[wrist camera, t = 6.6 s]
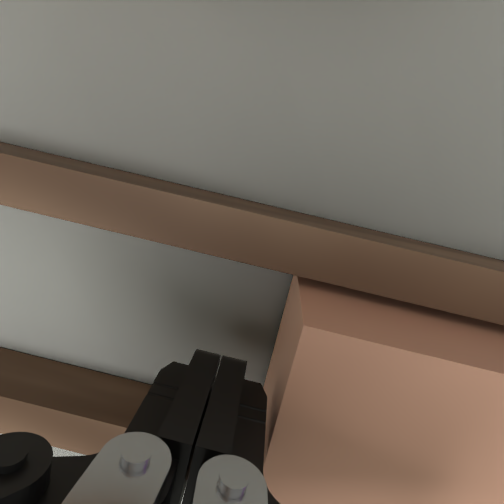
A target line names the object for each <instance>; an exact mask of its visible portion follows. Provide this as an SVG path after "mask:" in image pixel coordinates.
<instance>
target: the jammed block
mask: <svg viewBox="0 0 504 504" xmlns="http://www.w3.org/2000/svg"><path fill="white" fill-rule="evenodd" d="M263 389H264V391H265V393H266V395H267V411H266V424H265V425H266V430H265V447H264V463H263V475H264V479H265V481H266V484H267V487H268V489H269V491H270V492H271V494H272V495H273V497H274V498H275V499H276V500H277V501H278V502H279V503H280V504H504V325H500V324H496V323H492V322H488V321H483V320H479V319H475V318H471V317H467V316H463V315H458V314H454V313H450V312H446V311H442V310H438V309H433V308H429V307H425V306H421V305H417V304H413V303H408V302H404V301H400V300H396V299H392V298H388V297H383V296H379V295H375V294H371V293H367V292H363V291H358V290H354V289H350V288H346V287H342V286H338V285H334V284H329V283H325V282H321V281H317V280H313V279H309V278H304V277H300V276H296V275H293V278H292V282H291V286H290V289H289V293H288V297H287V301H286V304H285V308H284V312H283V316H282V319H281V323H280V327H279V331H278V334H277V338H276V342H275V346H274V349H273V353H272V357H271V361H270V364H269V368H268V372H267V376H266V379H265V383H264V387H263Z"/></svg>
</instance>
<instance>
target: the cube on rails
mask: <svg viewBox="0 0 504 504" xmlns="http://www.w3.org/2000/svg"><path fill="white" fill-rule="evenodd" d="M0 205H5V206H9V207H13V208H17V209H21V210H25V211H30V212H34V213H38V214H42V215H46V216H50V217H55V218H59V219H63V220H67V221H71V222H75V223H80V224H84V225H88V226H92V227H96V228H100V229H105V230H109V231H113V232H117V233H121V234H125V235H130V236H134V237H138V238H142V239H146V240H150V241H155V242H159V243H163V244H167V245H171V246H175V247H179V248H184V249H188V250H192V251H196V252H200V253H204V254H209V255H213V256H217V257H221V258H225V259H229V260H234V261H238V262H242V263H246V264H250V265H254V266H259V267H263V268H267V269H271V270H275V271H279V272H284V273H288V274H292V275H296V276H300V277H304V278H309V279H313V280H317V281H321V282H325V283H329V284H334V285H338V286H342V287H346V288H350V289H354V290H358V291H363V292H367V293H371V294H375V295H379V296H383V297H388V298H392V299H396V300H400V301H404V302H408V303H413V304H417V305H421V306H425V307H429V308H433V309H438V310H442V311H446V312H450V313H454V314H458V315H463V316H467V317H471V318H475V319H479V320H483V321H488V322H492V323H496V324H500V325H504V261H502V260H498V259H494V258H489V257H485V256H481V255H477V254H473V253H468V252H464V251H460V250H456V249H451V248H447V247H443V246H439V245H434V244H430V243H426V242H422V241H418V240H413V239H409V238H405V237H401V236H396V235H392V234H388V233H384V232H379V231H375V230H371V229H367V228H363V227H358V226H354V225H350V224H346V223H341V222H337V221H333V220H329V219H324V218H320V217H316V216H312V215H308V214H303V213H299V212H295V211H291V210H286V209H282V208H278V207H274V206H269V205H265V204H261V203H257V202H253V201H248V200H244V199H240V198H236V197H231V196H227V195H223V194H219V193H214V192H210V191H206V190H202V189H198V188H193V187H189V186H185V185H181V184H176V183H172V182H168V181H164V180H160V179H155V178H151V177H147V176H143V175H138V174H134V173H130V172H126V171H121V170H117V169H113V168H109V167H105V166H100V165H96V164H92V163H88V162H83V161H79V160H75V159H71V158H66V157H62V156H58V155H54V154H50V153H45V152H41V151H37V150H33V149H28V148H24V147H20V146H16V145H11V144H7V143H3V142H0ZM151 386H152V385H149V384H145V383H141V382H137V381H133V380H129V379H125V378H121V377H117V376H113V375H109V374H105V373H101V372H97V371H93V370H89V369H85V368H81V367H77V366H73V365H69V364H65V363H61V362H57V361H53V360H49V359H45V358H41V357H37V356H33V355H29V354H25V353H21V352H17V351H13V350H9V349H5V348H1V347H0V433H2V434H5V433H11V432H30V433H35V434H38V435H40V436H42V437H44V438H45V439H46V440H47V441H48V442H49V443H50V445H51V446H53V447H57V448H61V449H65V450H69V451H73V452H77V453H81V454H85V455H91V454H95V453H98V452H100V450H101V449H102V448H103V446H104V445H105V444H106V443H107V442H108V441H110V440H111V439H113V438H114V437H116V436H118V435H121V434H124V433H125V431H126V429H127V428H128V426H129V424H130V422H131V421H132V419H133V417H134V415H135V414H136V412H137V410H138V408H139V407H140V405H141V403H142V401H143V400H144V398H145V396H146V394H148V391H149V389H150V388H151Z"/></svg>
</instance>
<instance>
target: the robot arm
mask: <svg viewBox="0 0 504 504" xmlns="http://www.w3.org/2000/svg"><path fill="white" fill-rule="evenodd" d="M220 357H221V355H219V354H215V353H211V352H207V351H203V350H199V349H196V351H195V353H194V355H193V357H192V360H191V362H190V364H189V365H185V364H181V363H177V362H172V363H171V364H169V365H167V366H166V367H164V368H163V369H161V370H160V372H159V374H158V375H157V377H156V379H155V381H154V383H153V384H152V386H151V388H150V389H149V391H148V394H146V396H145V398H144V400H143V401H142V403H141V405H140V407H139V408H138V410H137V412H136V414H135V415H134V417H133V419H132V421H131V422H130V424H129V426H128V428H127V429H126V431H125V433H124V434H121V435H118V436H116V437H114V438H113V439H111V440H110V441H108V442H107V443H106V444H105V445H104V446H103V448H102V449H101V450H100V452H98V453H95V454H91V455H86V456H66V457H53V451H52V447H51V445H50V443H49V442H48V441H47V440H46V439H45V438H44V437H42V436H40V435H38V434H35V433H30V432H11V433H5V434H2V435H0V504H181V501H182V497H183V494H184V497H183V501H182V504H280V503H279V502H278V501H277V500H276V499H275V498H274V497H273V495H272V494H271V492H270V491H269V489H268V487H267V484H266V481H265V479H264V475H263V463H264V447H265V430H266V425H265V424H266V411H267V395H266V393H265V391H264V389H263V387H262V385H261V384H260V383H256V382H253V381H249V380H245V379H244V376H245V370H246V364H247V361H243V360H239V359H235V358H231V357H227V356H222V359H221V363H220V366H219V361H220ZM218 366H219V369H218ZM217 370H218V373H217ZM216 374H217V376H216ZM215 378H216V379H215ZM185 487H186V489H185ZM184 491H185V493H184Z"/></svg>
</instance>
